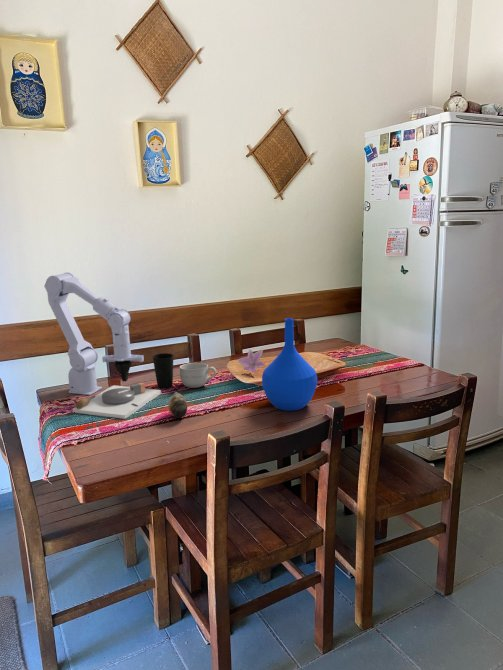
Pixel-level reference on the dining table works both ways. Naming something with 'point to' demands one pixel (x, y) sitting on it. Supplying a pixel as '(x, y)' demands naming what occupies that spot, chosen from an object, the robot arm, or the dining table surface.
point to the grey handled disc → (122, 394)
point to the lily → (252, 361)
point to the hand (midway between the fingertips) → (125, 380)
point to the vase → (289, 376)
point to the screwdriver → (83, 402)
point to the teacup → (195, 374)
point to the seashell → (177, 405)
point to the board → (117, 410)
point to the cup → (164, 370)
